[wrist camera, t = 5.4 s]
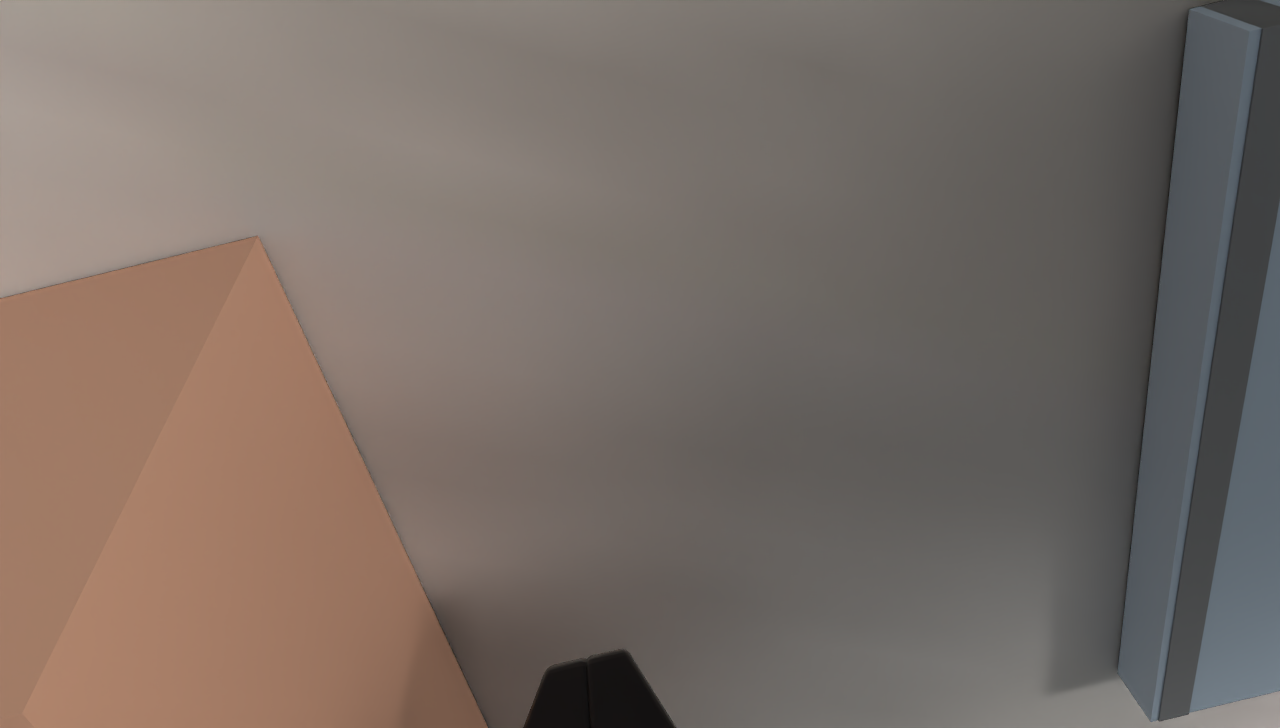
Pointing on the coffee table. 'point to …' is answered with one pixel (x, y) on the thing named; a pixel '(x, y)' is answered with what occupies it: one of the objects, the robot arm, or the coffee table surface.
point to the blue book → (1214, 388)
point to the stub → (197, 518)
